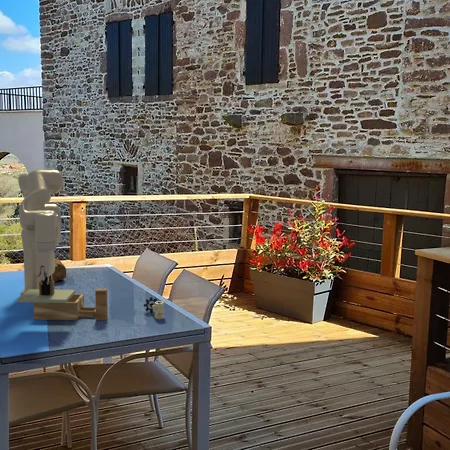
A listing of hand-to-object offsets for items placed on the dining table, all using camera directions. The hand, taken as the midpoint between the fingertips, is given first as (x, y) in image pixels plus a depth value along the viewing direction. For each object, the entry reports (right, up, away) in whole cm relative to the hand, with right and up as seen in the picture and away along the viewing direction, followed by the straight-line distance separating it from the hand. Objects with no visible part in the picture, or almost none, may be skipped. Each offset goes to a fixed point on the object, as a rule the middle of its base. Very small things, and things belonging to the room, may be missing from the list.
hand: (47, 293), depth 231 cm
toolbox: (+3, -11, +18) cm, 22 cm away
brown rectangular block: (+18, -12, +14) cm, 26 cm away
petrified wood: (-21, -2, +82) cm, 84 cm away
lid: (0, -2, 0) cm, 2 cm away
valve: (+39, -12, +20) cm, 45 cm away
